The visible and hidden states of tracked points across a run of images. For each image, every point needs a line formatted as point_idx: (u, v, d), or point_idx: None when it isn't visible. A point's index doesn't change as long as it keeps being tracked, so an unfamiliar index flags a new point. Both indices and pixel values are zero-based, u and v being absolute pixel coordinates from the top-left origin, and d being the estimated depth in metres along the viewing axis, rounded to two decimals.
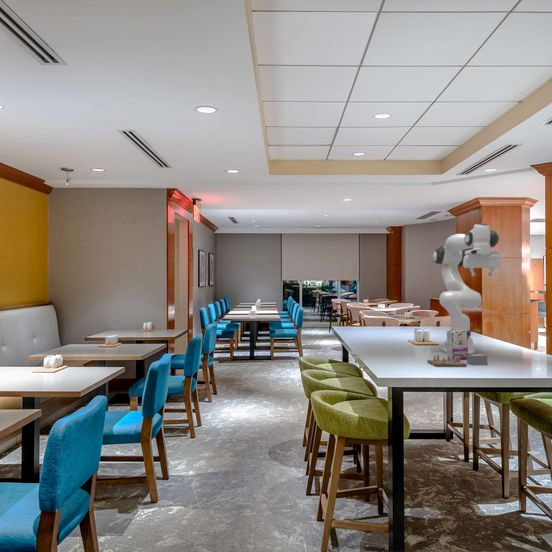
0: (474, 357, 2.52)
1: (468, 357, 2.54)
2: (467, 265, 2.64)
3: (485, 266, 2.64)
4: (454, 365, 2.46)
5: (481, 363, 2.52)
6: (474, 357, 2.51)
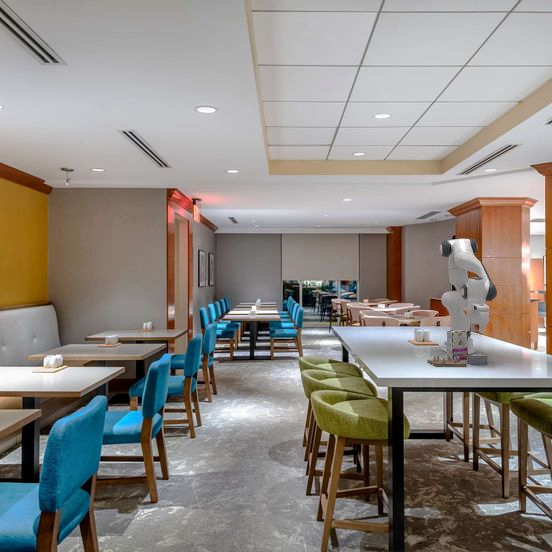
0: (474, 357, 2.51)
1: (468, 357, 2.54)
2: None
3: None
4: (454, 365, 2.46)
5: (481, 363, 2.52)
6: (474, 357, 2.51)
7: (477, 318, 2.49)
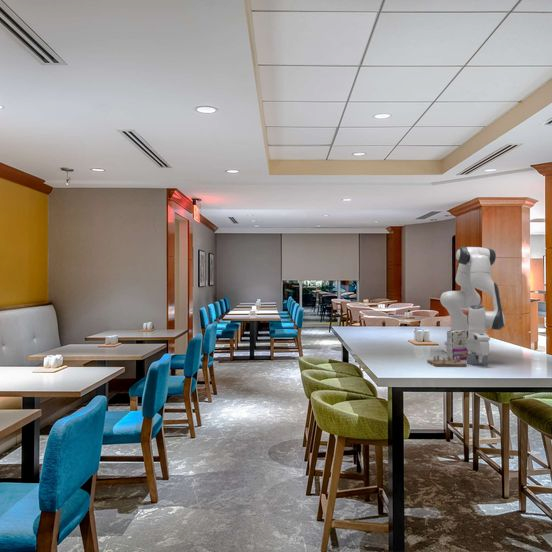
0: (474, 357, 2.51)
1: (468, 357, 2.54)
2: None
3: None
4: (454, 365, 2.46)
5: (481, 363, 2.52)
6: (474, 357, 2.51)
7: (477, 347, 2.49)
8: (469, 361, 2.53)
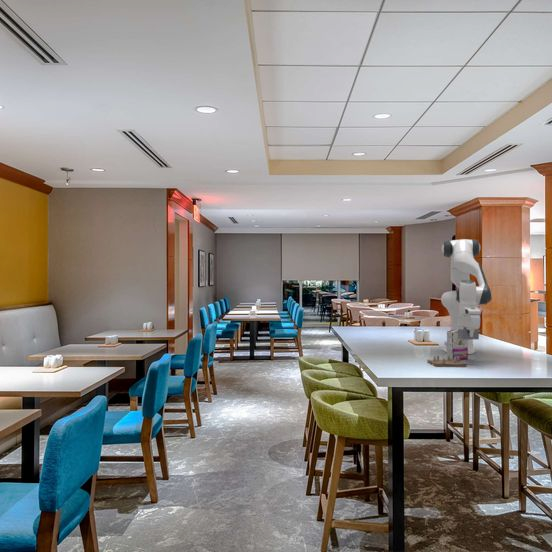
0: (466, 331, 2.51)
1: (459, 331, 2.54)
2: None
3: None
4: (454, 365, 2.46)
5: (472, 337, 2.51)
6: (465, 331, 2.51)
7: (468, 321, 2.49)
8: (460, 336, 2.53)
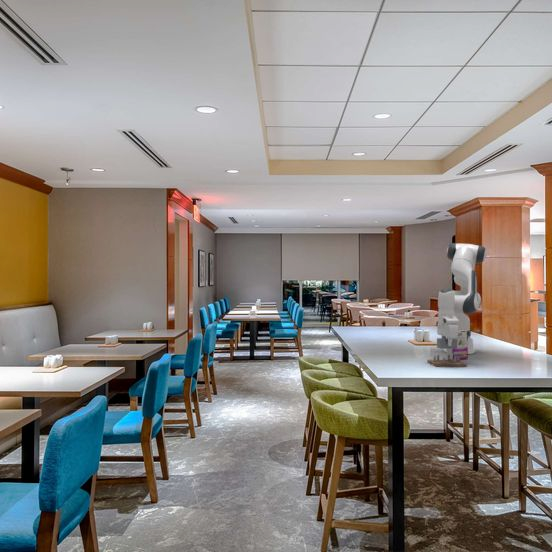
0: (444, 340, 2.50)
1: (438, 340, 2.53)
2: None
3: None
4: (454, 365, 2.46)
5: (451, 346, 2.50)
6: (444, 340, 2.50)
7: (446, 331, 2.48)
8: (439, 345, 2.52)
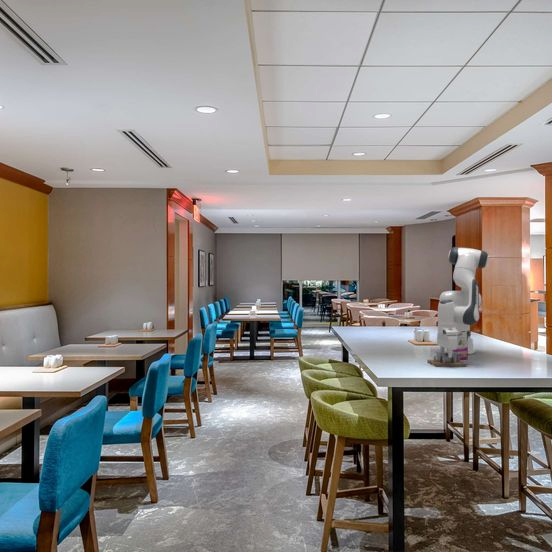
0: (443, 354, 2.50)
1: (437, 354, 2.53)
2: None
3: None
4: (454, 365, 2.46)
5: (450, 360, 2.50)
6: (443, 354, 2.50)
7: (446, 342, 2.48)
8: (438, 358, 2.52)
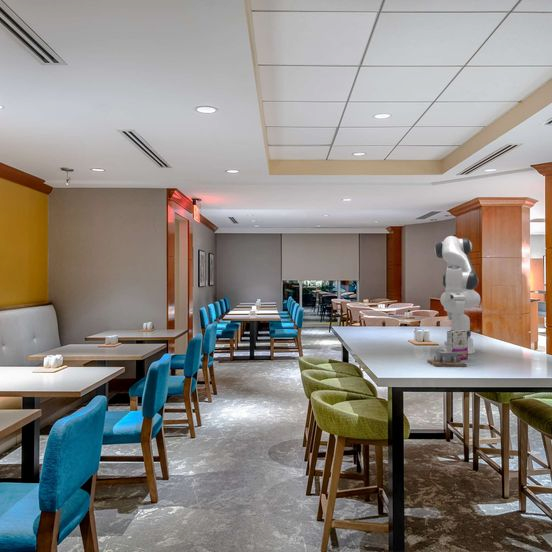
0: (443, 354, 2.50)
1: (437, 354, 2.53)
2: None
3: None
4: (454, 365, 2.46)
5: (450, 360, 2.50)
6: (443, 354, 2.50)
7: (453, 307, 2.51)
8: (438, 358, 2.52)
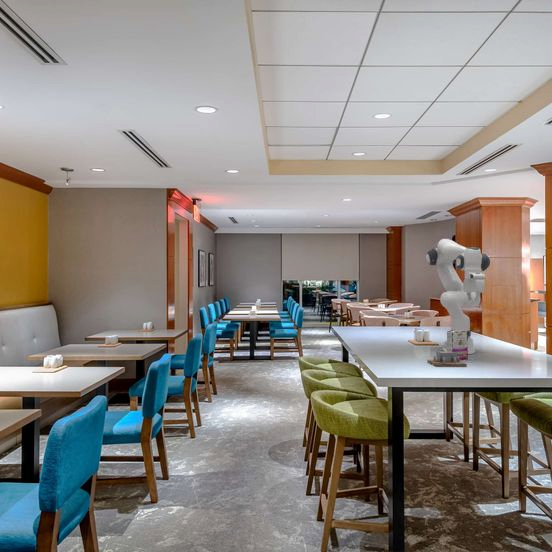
0: (443, 354, 2.50)
1: (437, 354, 2.53)
2: None
3: None
4: (454, 365, 2.46)
5: (450, 360, 2.50)
6: (443, 354, 2.50)
7: (473, 286, 2.59)
8: (438, 358, 2.52)
